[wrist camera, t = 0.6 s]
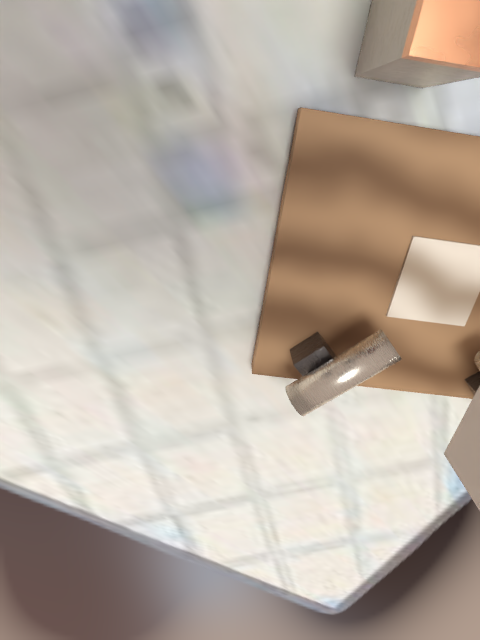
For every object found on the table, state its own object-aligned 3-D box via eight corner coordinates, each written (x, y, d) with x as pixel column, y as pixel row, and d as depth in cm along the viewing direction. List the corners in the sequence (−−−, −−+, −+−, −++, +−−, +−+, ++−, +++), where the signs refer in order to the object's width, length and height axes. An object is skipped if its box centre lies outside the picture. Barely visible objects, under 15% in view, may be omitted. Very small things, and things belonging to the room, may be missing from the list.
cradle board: (298, 108, 29) (302, 107, 27) (653, 166, 31) (677, 168, 29) (251, 365, 38) (252, 375, 37) (525, 396, 40) (537, 407, 39)
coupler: (374, -14, 26) (447, -87, 17) (449, 0, 26) (560, -64, 17) (353, 77, 28) (408, 55, 19) (423, 89, 28) (509, 72, 20)
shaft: (362, 303, 34) (384, 332, 29) (387, 339, 36) (411, 373, 31) (275, 358, 36) (282, 393, 32) (302, 389, 38) (312, 428, 33)
